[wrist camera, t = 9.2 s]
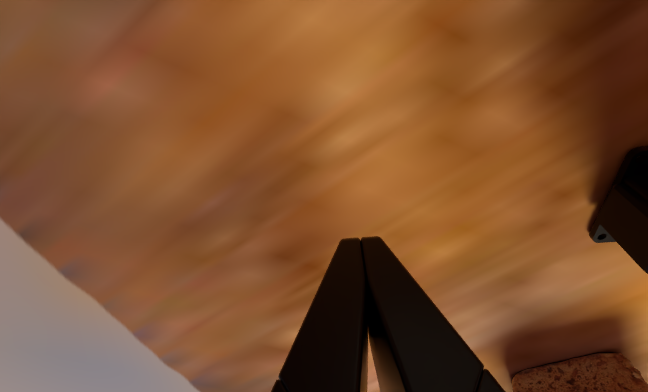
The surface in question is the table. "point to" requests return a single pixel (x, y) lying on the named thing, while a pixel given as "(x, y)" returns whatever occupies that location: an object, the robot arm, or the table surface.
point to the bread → (583, 376)
